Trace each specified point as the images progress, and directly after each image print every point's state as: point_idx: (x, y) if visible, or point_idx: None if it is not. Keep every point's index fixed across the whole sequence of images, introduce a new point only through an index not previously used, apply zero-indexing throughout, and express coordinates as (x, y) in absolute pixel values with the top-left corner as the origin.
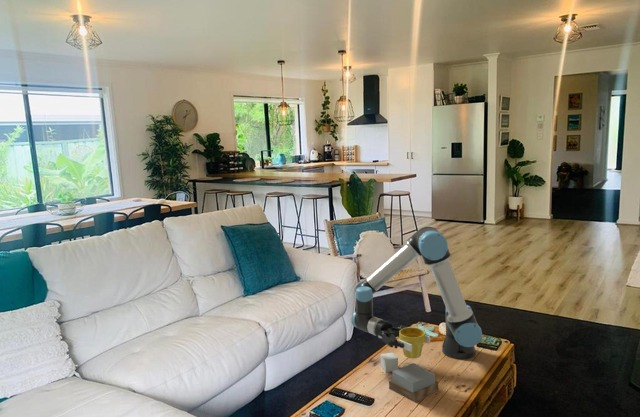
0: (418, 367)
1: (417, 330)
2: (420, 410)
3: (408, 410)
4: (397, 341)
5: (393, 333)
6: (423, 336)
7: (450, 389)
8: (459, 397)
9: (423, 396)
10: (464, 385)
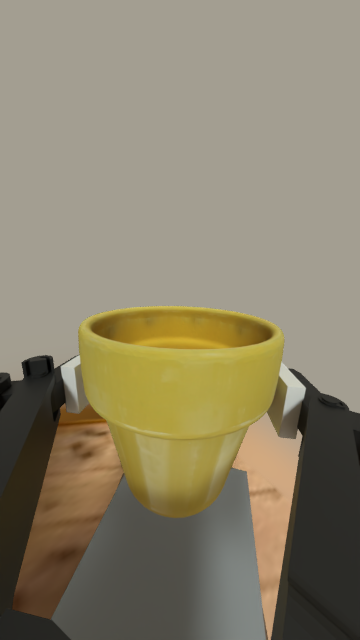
0: (108, 541)
1: (99, 333)
2: (251, 472)
3: (285, 501)
4: (309, 403)
5: None
6: (179, 310)
7: (109, 462)
8: None
9: None
10: (75, 444)
